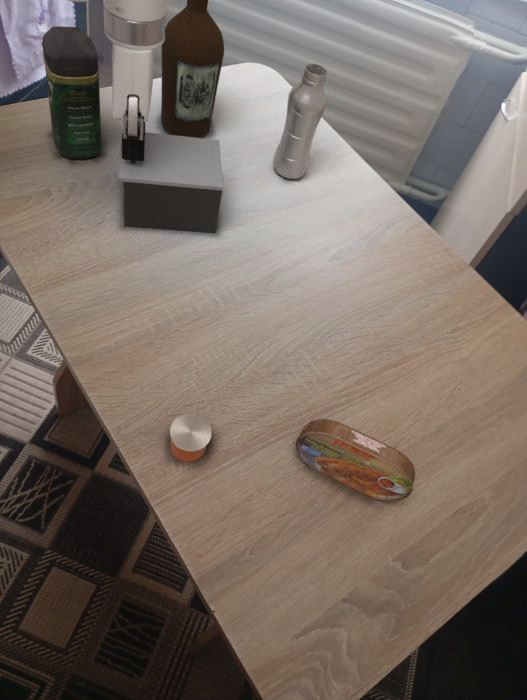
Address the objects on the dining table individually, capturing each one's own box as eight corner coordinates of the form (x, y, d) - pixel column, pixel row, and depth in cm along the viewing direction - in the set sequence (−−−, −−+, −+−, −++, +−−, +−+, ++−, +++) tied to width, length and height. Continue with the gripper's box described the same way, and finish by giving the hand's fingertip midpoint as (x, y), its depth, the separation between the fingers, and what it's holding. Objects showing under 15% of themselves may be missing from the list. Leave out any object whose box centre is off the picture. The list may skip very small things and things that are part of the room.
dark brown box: (124, 226, 90) (124, 182, 83) (127, 178, 97) (127, 134, 90) (215, 233, 93) (222, 191, 86) (211, 186, 100) (218, 143, 93)
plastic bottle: (299, 188, 104) (330, 86, 88) (265, 174, 105) (290, 70, 89) (309, 169, 108) (341, 68, 92) (277, 156, 108) (303, 53, 92)
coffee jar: (106, 159, 98) (102, 54, 84) (59, 163, 96) (46, 55, 81) (95, 126, 103) (89, 20, 88) (49, 128, 100) (36, 19, 85)
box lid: (118, 181, 83) (117, 148, 78) (121, 133, 89) (121, 100, 85) (222, 190, 86) (227, 159, 82) (218, 143, 93) (223, 112, 88)
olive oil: (152, 109, 109) (157, -35, 89) (204, 108, 113) (221, -30, 93) (165, 143, 104) (174, -1, 84) (219, 141, 108) (241, 2, 88)
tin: (287, 456, 73) (304, 426, 66) (296, 437, 74) (313, 406, 68) (395, 510, 71) (423, 485, 64) (401, 489, 73) (429, 462, 66)
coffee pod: (168, 464, 69) (170, 451, 66) (168, 427, 72) (169, 413, 68) (209, 464, 70) (212, 450, 67) (207, 427, 73) (210, 413, 70)
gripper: (107, -14, 74) (110, 111, 89) (99, 54, 65) (104, 182, 79) (165, -5, 76) (159, 116, 91) (165, 63, 67) (158, 186, 81)
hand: (133, 146), depth 85 cm, fingers closed on box lid, 5 cm apart
